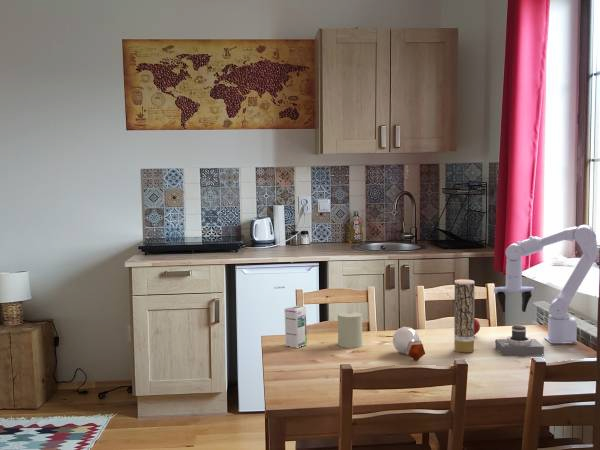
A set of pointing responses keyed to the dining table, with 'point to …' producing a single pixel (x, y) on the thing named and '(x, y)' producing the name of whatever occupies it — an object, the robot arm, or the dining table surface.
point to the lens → (519, 333)
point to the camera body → (519, 347)
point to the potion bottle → (408, 343)
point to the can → (350, 329)
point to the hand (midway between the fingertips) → (513, 311)
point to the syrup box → (295, 326)
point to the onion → (476, 326)
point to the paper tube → (464, 316)
